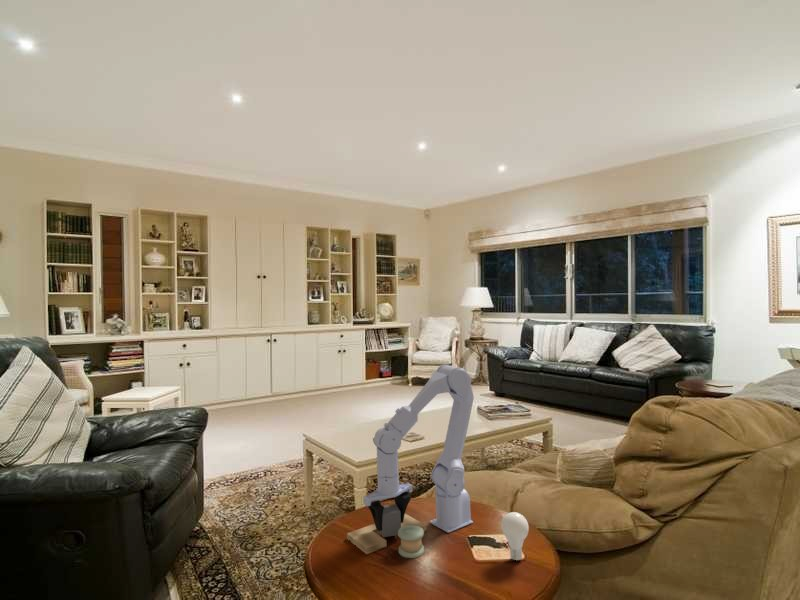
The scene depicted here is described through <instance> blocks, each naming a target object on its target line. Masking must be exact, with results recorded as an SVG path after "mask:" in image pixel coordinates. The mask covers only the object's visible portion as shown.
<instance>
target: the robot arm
mask: <svg viewBox="0 0 800 600" xmlns="http://www.w3.org/2000/svg"><path fill="white" fill-rule="evenodd" d="M471 383H472V377H471V375H470V374H469V373H468V372H467V370H466V369H465V368H463V367H459V366H458V367H456V366H453V365H450V364H442V365H440V366H439V367H437V369H436V370H435V371H434V372H433V373H431V375H430V377H429V380H428V381H427V382H426V383H425V384H424V386H423V387H422V388H421V389H420V391H419V392H418V393H417V394H416V395H415V397H414V399H412V401H411V402H410V403H409V405H406V406H401V407H400V408H397V409H396V410H394V412H395V414H394V415H393V416H392V417H391V419H389V421H388V422H384V424H383V426H384V427H381V428H379V429H377V430H376V432H375V434H374V437H373V438H372V442H373V444H374V445H375V446H376V473H377V474H376V475H377V489H376V490H375V491H373V492H370V493H369V494H367V495H364V496H363V505H365V506H366V507H367V508H368V509H369V511H370V513H371V516H372V519H373V521H374V524H375V526H376V529H378V530H379V531H381V530H382V517H383V510H384V506H385V505H383V504H381V502H382V501H385V500H387V499H392V498H393V499H394V504H396V505H397V506H398V508H399V510H400V512H401V523H403V520H404V515H405V514H406V512H407V507H408V505H409V503H410V501H411V500H412V499H411V498H412V496H411V495H410V494H409V493H413V484H411V483H409V482H407V483H402V484H400V478H399V477H400V476H399V475H400V473H399V455H398V454H399V453H398V450H400V448H401V445H402V440H403V439H404V437H405V436H406V435H407V434H408V433H409V432H410V431H411V429H412V428H413V427H414V426H415V424H416V423H417V422H418V420H419V418H418V417H419V416H418V415H419V413H421V411H423V410H424V408H425V407H426V406H427V405H428V404H430V402H432V401H433V399H434V398H436V396H437V395H438V394H444V393H445V394H446V393H449V395H450V397H451V398H452V399H453V403H452V406H451V412H450V415H449V416H450V418H449V421H448V426H447V431H446V435H445V440H444V443H443V444H444V445H443V449H442V450H443V451H442V454H441V455H439V456H438V458H437V459H436V463H435V465H434V467H433V468H432V470H431V473H430V477H431V481H432V483H434V484H435V491H434V492H435V493H434V494H435V513H436V514H435V516H436V518H434V519H432V520H431V519H430V521H429V523H430V524H432V526H435V527H437V528H439V529H440V530H442V531H443V532H446V533H451V532H454V531H456V530H460V529H461V528H463V527H465V526H469V525H471V524H473V523H474V521H473V520H472V517H471V516H472V515H471V499H470V495H469V493H468V491H467V490H466V489H465V485H466V480H465V467H464V465H463V462H462V461H463V460H462V456H463V452H464V449H465V442H466V437H467V432H468V428H469V423H470V417H471V413H472V408H473V403H474V399H475V398H474V392H473V387H472V384H471Z"/></svg>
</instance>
